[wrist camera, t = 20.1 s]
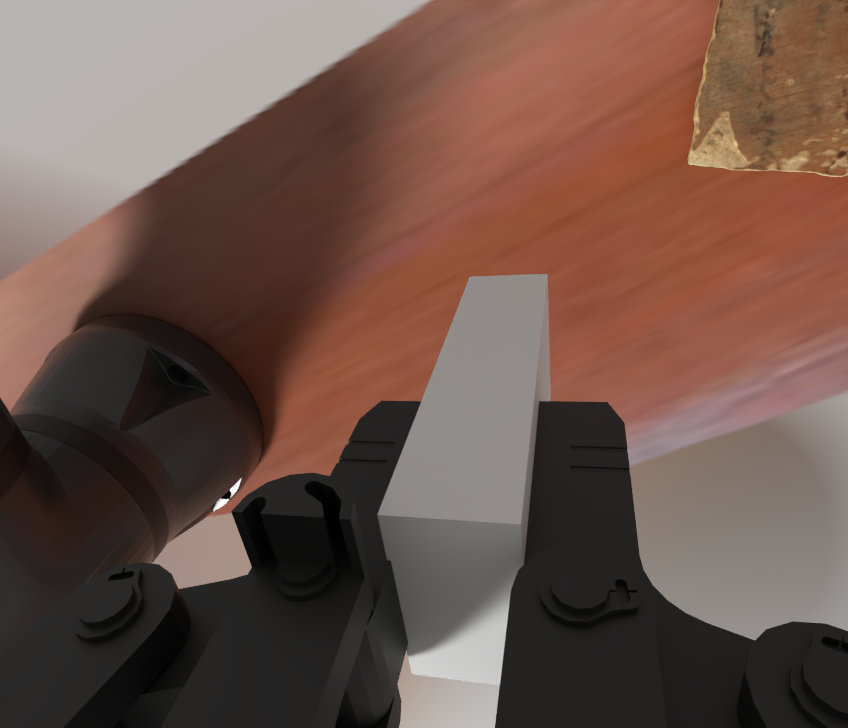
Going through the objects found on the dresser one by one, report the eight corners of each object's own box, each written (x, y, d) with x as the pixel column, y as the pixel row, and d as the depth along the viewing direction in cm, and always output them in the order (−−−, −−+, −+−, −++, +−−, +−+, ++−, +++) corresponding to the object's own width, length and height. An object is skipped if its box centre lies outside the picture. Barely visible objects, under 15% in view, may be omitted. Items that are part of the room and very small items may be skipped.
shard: (744, -150, 22) (756, -161, 20) (986, -157, 20) (1018, -169, 19) (676, 160, 28) (682, 169, 26) (863, 170, 26) (880, 181, 25)
